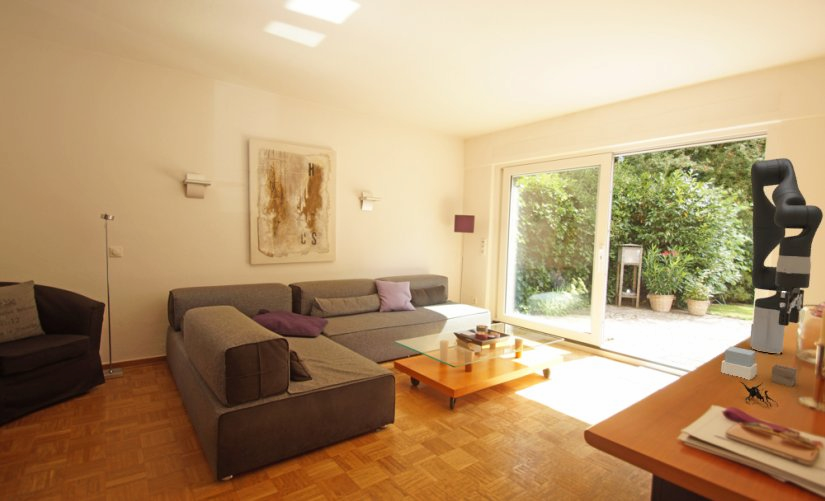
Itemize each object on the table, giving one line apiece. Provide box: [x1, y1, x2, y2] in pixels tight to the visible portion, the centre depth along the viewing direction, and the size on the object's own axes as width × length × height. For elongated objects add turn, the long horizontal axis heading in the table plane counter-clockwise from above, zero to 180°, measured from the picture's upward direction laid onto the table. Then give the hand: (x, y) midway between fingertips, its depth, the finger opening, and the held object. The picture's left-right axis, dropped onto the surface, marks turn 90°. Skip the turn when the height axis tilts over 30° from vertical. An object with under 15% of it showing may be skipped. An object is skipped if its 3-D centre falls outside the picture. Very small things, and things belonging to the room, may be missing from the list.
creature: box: [739, 380, 779, 408], centre depth 109 cm, size 8×5×8 cm
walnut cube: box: [770, 364, 798, 388], centre depth 124 cm, size 5×5×5 cm
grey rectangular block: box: [724, 346, 757, 367], centre depth 131 cm, size 6×6×4 cm
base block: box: [720, 359, 758, 381], centre depth 131 cm, size 8×8×4 cm
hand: (788, 323), depth 122 cm, fingers open, 8 cm apart
